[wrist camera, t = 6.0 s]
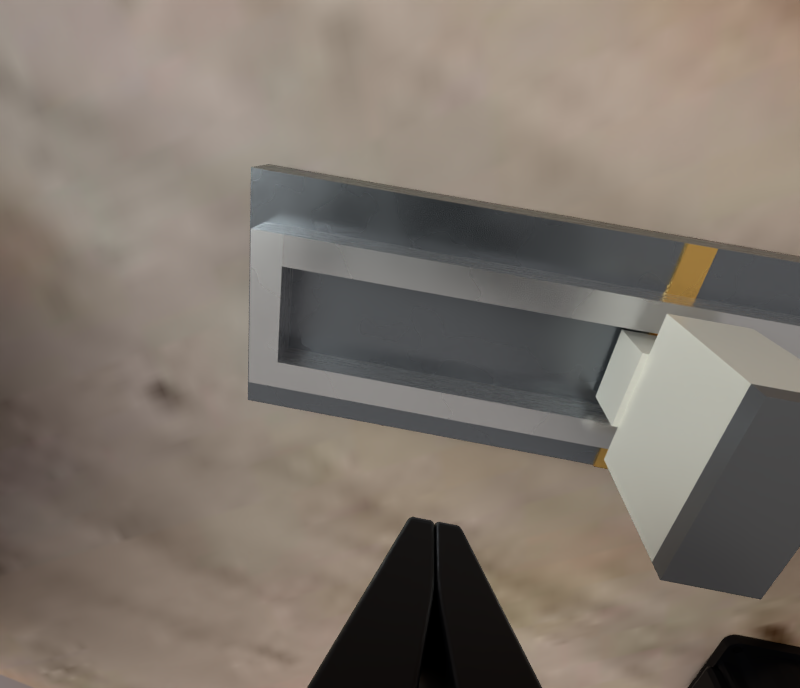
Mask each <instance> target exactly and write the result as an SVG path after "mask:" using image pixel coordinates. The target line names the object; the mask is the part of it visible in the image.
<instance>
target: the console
mask: <svg viewBox="0 0 800 688" xmlns="http://www.w3.org/2000/svg"><path fill="white" fill-rule="evenodd" d="M667 314H673V315H678V316H684V317H689V318H695V319H701V320H706V321H712V322H717V323H723V324H729V325H734V326H740V327H745V328H751V329H754V330H756V331H757V332H759V333H760V334H762V335H763V336H765V337H766V338H768V339H770V340H771V341H773V342H774V343H776V344H777V345H779V346H780V347H782V348H783V349H785V350H787V351H788V352H790V353H791V354H793V355H794V356H796V357H797V358H799V359H800V257H799V256H794V255H788V254H782V253H776V252H771V251H765V250H759V249H753V248H747V247H742V246H736V245H730V244H724V243H719V242H713V241H707V240H701V239H696V238H690V237H684V236H678V235H673V234H667V233H661V232H655V231H649V230H644V229H638V228H632V227H626V226H621V225H615V224H609V223H603V222H598V221H592V220H586V219H580V218H575V217H569V216H563V215H557V214H551V213H546V212H540V211H534V210H528V209H523V208H517V207H511V206H505V205H500V204H494V203H488V202H482V201H477V200H471V199H465V198H459V197H454V196H448V195H442V194H436V193H430V192H425V191H419V190H413V189H407V188H402V187H396V186H390V185H384V184H379V183H373V182H367V181H361V180H356V179H350V178H344V177H338V176H332V175H327V174H321V173H315V172H309V171H304V170H298V169H292V168H286V167H281V166H275V165H269V164H268V165H262V166H256V167H251V212H250V286H249V361H248V400H252V401H257V402H262V403H268V404H273V405H278V406H284V407H289V408H294V409H300V410H305V411H310V412H316V413H321V414H326V415H332V416H337V417H342V418H348V419H353V420H358V421H363V422H369V423H374V424H379V425H385V426H390V427H395V428H401V429H406V430H411V431H417V432H422V433H427V434H433V435H438V436H443V437H449V438H454V439H459V440H465V441H470V442H475V443H480V444H486V445H491V446H496V447H502V448H507V449H512V450H518V451H523V452H528V453H534V454H539V455H544V456H550V457H555V458H560V459H566V460H571V461H576V462H581V463H587V464H592V465H594V467H600V468H605V469H608V467H607V465H606V463H605V461H604V458H605V456H606V454H607V451H608V449H609V447H610V444H611V442H612V440H613V437H614V435H615V433H616V430H617V428H618V427H614V426H611V424H610V422H609V420H608V419H607V417H606V415H605V413H604V411H603V409H602V408H601V406H600V404H599V402H598V400H597V398H596V397H595V396H596V394H597V391H598V389H599V386H600V384H601V381H602V379H603V376H604V374H605V371H606V369H607V366H608V363H609V361H610V358H611V356H612V353H613V351H614V348H615V346H616V343H617V341H618V338H619V335H620V333H621V330H627V331H633V332H638V333H644V334H649V335H655V336H657V335H658V333H659V331H660V329H661V326H662V324H663V322H664V319H665V317H666V315H667Z"/></svg>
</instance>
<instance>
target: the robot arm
mask: <svg viewBox="0 0 800 688" xmlns="http://www.w3.org/2000/svg"><path fill="white" fill-rule="evenodd" d="M307 688H542V687H541V685H540V683H539V681H538V679H537V677H536V675H535V673H534V671H533V669H532V667H531V665H530V663H529V661H528V659H527V657H526V655H525V653H524V651H523V649H522V647H521V645H520V643H519V641H518V639H517V637H516V635H515V633H514V631H513V629H512V627H511V625H510V623H509V622H508V620H507V618H506V616H505V614H504V612H503V610H502V608H501V606H500V604H499V602H498V600H497V598H496V596H495V594H494V592H493V590H492V588H491V586H490V584H489V582H488V580H487V578H486V576H485V574H484V572H483V570H482V568H481V566H480V564H479V562H478V560H477V558H476V556H475V554H474V552H473V550H472V548H471V546H470V545H469V543H468V541H467V539H466V537H465V535H464V533H463V531H462V529H461V528H460V527H459V526H457V525H452V524H447V523H442V522H437V523H435V525H434V523H433V522H432V521H431V520H426V519H421V518H415V517H411V518H409V519H408V520H407V522H406V524H405V525H404V527H403V529H402V530H401V532H400V534H399V535H398V537H397V539H396V540H395V542H394V544H393V545H392V547H391V549H390V550H389V552H388V554H387V555H386V557H385V559H384V560H383V562H382V564H381V565H380V567H379V569H378V570H377V572H376V574H375V575H374V577H373V579H372V580H371V582H370V584H369V585H368V587H367V589H366V590H365V592H364V594H363V595H362V597H361V599H360V600H359V602H358V604H357V605H356V607H355V609H354V610H353V612H352V614H351V615H350V617H349V619H348V620H347V622H346V624H345V625H344V627H343V629H342V630H341V632H340V634H339V635H338V637H337V639H336V640H335V642H334V644H333V645H332V647H331V649H330V650H329V652H328V654H327V655H326V657H325V659H324V660H323V662H322V664H321V665H320V667H319V669H318V670H317V672H316V674H315V675H314V677H313V679H312V680H311V682H310V684H309V685H308V687H307ZM688 688H800V648H799V647H793V646H788V645H783V644H778V643H773V642H768V641H763V640H758V639H753V638H748V637H743V636H737V635H732V636H728V637H726V638H724V639H723V640H722V642H721V643H720V644H719V646H718V647H717V649H716V650H715V651H714V653H713V654H712V656H711V657H710V658H709V660H708V661H707V662H706V664H705V665H704V667H703V668H702V669H701V671H700V672H699V673H698V675H697V676H696V678H695V679H694V680H693V682H692V683H691V684H690V686H689V687H688Z"/></svg>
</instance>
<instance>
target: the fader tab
mask: <svg viewBox="0 0 800 688" xmlns="http://www.w3.org/2000/svg"><path fill="white" fill-rule="evenodd" d="M595 397H596V398H597V400H598V402H599V404H600V406H601V408H602V409H603V411H604V413H605V415H606V417H607V419H608V420H609V422H610V424H611V426H614V427H618V428H617V430H616V433H615V435H614V437H613V440H612V442H611V444H610V447H609V449H608V451H607V454H606V456H605V458H604V461H605V463H606V465H607V467H608V469H609V471H610V474H611V476H612V478H613V480H614V482H615V484H616V486H617V489H618V491H619V493H620V495H621V497H622V499H623V501H624V503H625V506H626V508H627V510H628V512H629V514H630V516H631V518H632V521H633V523H634V525H635V527H636V529H637V531H638V533H639V536H640V538H641V540H642V542H643V544H644V546H645V548H646V551H647V553H648V555H649V557H650V559H651V561H652V563H653V565H654V568H655V570H656V572H657V574H658V576H659V578H660V580H664V581H669V582H674V583H679V584H684V585H689V586H695V587H700V588H705V589H710V590H715V591H720V592H726V593H731V594H736V595H741V596H746V597H751V598H756V599H762V597H763V596H764V594H765V593H766V592H767V590H768V589H769V588H770V586H771V585H772V584H773V582H774V581H775V580H776V578H777V577H778V575H779V574H780V573H781V571H782V570H783V569H784V567H785V566H786V565H787V563H788V562H789V561H790V559H791V558H792V556H793V555H794V554H795V552H796V551H797V550H798V548H799V547H800V359H799V358H797V357H796V356H794V355H793V354H791V353H790V352H788V351H787V350H785V349H783V348H782V347H780V346H779V345H777V344H776V343H774V342H773V341H771V340H770V339H768V338H766V337H765V336H763V335H762V334H760V333H759V332H757V331H756V330H754V329H751V328H745V327H740V326H734V325H729V324H723V323H717V322H712V321H706V320H701V319H695V318H689V317H684V316H678V315H673V314H667V315H666V317H665V319H664V322H663V324H662V326H661V329H660V331H659V333H658V335H657V336H655V335H649V334H644V333H638V332H633V331H627V330H621V333H620V335H619V338H618V341H617V343H616V346H615V348H614V351H613V353H612V356H611V358H610V361H609V363H608V366H607V369H606V371H605V374H604V376H603V379H602V381H601V384H600V386H599V389H598V391H597V394H596V396H595Z"/></svg>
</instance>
